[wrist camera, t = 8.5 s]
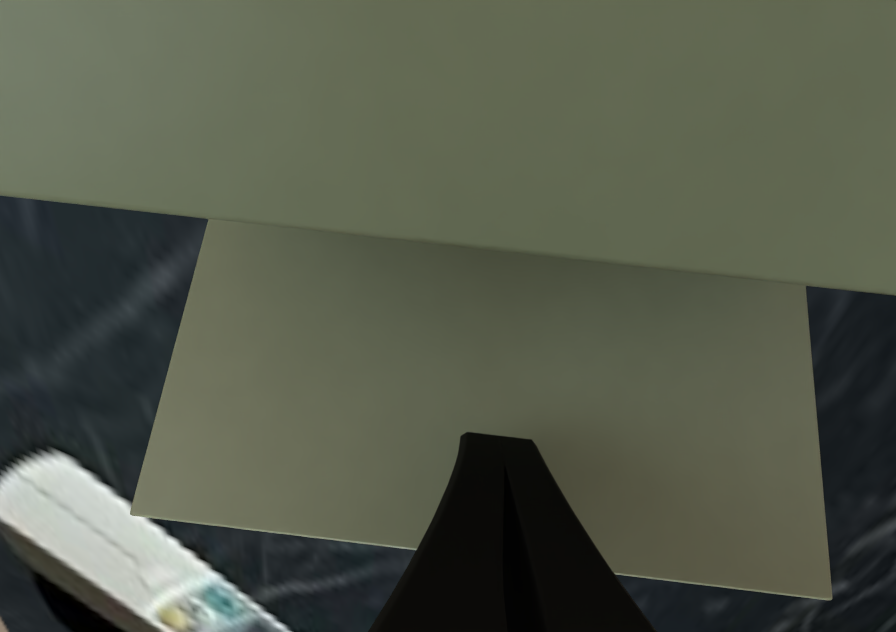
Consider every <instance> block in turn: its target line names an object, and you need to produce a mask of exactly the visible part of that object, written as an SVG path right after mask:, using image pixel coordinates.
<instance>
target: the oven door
mask: <svg viewBox="0 0 896 632" xmlns="http://www.w3.org/2000/svg"><path fill="white" fill-rule="evenodd" d="M466 432H473V433H482V434H490V435H499V436H507V437H516V438H524V439H532V441H533V442H534V443H535V444H536V446H537V448H538V450H539V452H540V453H541V455H542V457H543V459H544V461H545V463H546V465H547V467H548V468H549V470H550V472H551V474H552V476H553V477H554V479H555V481H556V483H557V484H558V486H559V488H560V489H561V491H562V493H563V495H564V496H565V498H566V500H567V501H568V503H569V505H570V506H571V508H572V510H573V511H574V513H575V515H576V516H577V518H578V519H579V521H580V522H581V524H582V526H583V527H584V529H585V530H586V532H587V533H588V535H589V537H590V538H591V540H592V541H593V543H594V544H595V546H596V547H597V549H598V550H599V552H600V553H601V555H602V556H603V558H604V559H605V561H606V562H607V564H608V565H609V567H610V568H611V570H612V571H613V572H614V574H617V575H625V576H633V577H642V578H650V579H658V580H666V581H675V582H683V583H691V584H699V585H707V586H716V587H724V588H732V589H740V590H749V591H757V592H765V593H773V594H781V595H790V596H798V597H806V598H814V599H823V600H832V588H831V577H830V565H829V554H828V542H827V530H826V519H825V507H824V495H823V484H822V472H821V460H820V449H819V437H818V425H817V414H816V402H815V390H814V379H813V367H812V355H811V344H810V332H809V320H808V309H807V297H806V286H805V285H796V284H787V283H778V282H769V281H760V280H751V279H743V278H734V277H725V276H716V275H707V274H698V273H689V272H680V271H671V270H662V269H653V268H644V267H635V266H626V265H617V264H609V263H600V262H591V261H582V260H573V259H564V258H555V257H546V256H537V255H528V254H519V253H510V252H501V251H492V250H483V249H475V248H466V247H457V246H448V245H439V244H430V243H421V242H412V241H403V240H394V239H385V238H376V237H367V236H358V235H349V234H341V233H332V232H323V231H314V230H305V229H296V228H287V227H278V226H269V225H260V224H251V223H242V222H233V221H224V220H216V219H209V220H208V223H207V227H206V231H205V235H204V238H203V242H202V246H201V250H200V253H199V257H198V261H197V264H196V268H195V272H194V276H193V279H192V283H191V287H190V291H189V294H188V298H187V302H186V306H185V309H184V313H183V317H182V321H181V324H180V328H179V332H178V335H177V339H176V343H175V347H174V350H173V354H172V358H171V362H170V365H169V369H168V373H167V377H166V380H165V384H164V388H163V392H162V395H161V399H160V403H159V406H158V410H157V414H156V418H155V421H154V425H153V429H152V433H151V436H150V440H149V444H148V448H147V451H146V455H145V459H144V463H143V466H142V470H141V474H140V477H139V481H138V485H137V489H136V492H135V496H134V500H133V504H132V507H131V511H130V514H131V515H133V516H140V517H148V518H157V519H165V520H173V521H181V522H189V523H198V524H206V525H214V526H222V527H231V528H239V529H247V530H255V531H263V532H272V533H280V534H288V535H296V536H305V537H313V538H321V539H329V540H337V541H346V542H354V543H362V544H370V545H379V546H387V547H395V548H403V549H411V550H417V548H418V546H419V544H420V542H421V540H422V539H423V537H424V535H425V533H426V531H427V529H428V527H429V525H430V523H431V521H432V519H433V517H434V515H435V512H436V510H437V508H438V506H439V503H440V501H441V499H442V496H443V494H444V492H445V490H446V487H447V485H448V482H449V480H450V477H451V474H452V471H453V468H454V465H455V462H456V459H457V455H458V450H459V443H460V436H461V435H463V434H464V433H466Z"/></svg>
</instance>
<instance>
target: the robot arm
mask: <svg viewBox="0 0 896 632" xmlns="http://www.w3.org/2000/svg"><path fill="white" fill-rule="evenodd" d="M368 632H657V631H656V630H655V629H654V627H653V626H652V625H651V623H650V622H649V621H648V619H647V618H646V617H645V615H644V614H643V613H642V611H641V610H640V609H639V607H638V606H637V605H636V603H635V602H634V601H633V599H632V598H631V596H630V595H629V594H628V592H627V591H626V589H625V588H624V587H623V585H622V584H621V582H620V581H619V579H618V578H617V577H616V575H615V574H614V572H613V571H612V570H611V568H610V567H609V565H608V564H607V562H606V561H605V559H604V558H603V556H602V555H601V553H600V552H599V550H598V549H597V547H596V546H595V544H594V543H593V541H592V540H591V538H590V537H589V535H588V533H587V532H586V530H585V529H584V527H583V526H582V524H581V522H580V521H579V519H578V518H577V516H576V515H575V513H574V511H573V510H572V508H571V506H570V505H569V503H568V501H567V500H566V498H565V496H564V495H563V493H562V491H561V489H560V488H559V486H558V484H557V483H556V481H555V479H554V477H553V476H552V474H551V472H550V470H549V468H548V467H547V465H546V463H545V461H544V459H543V457H542V455H541V453H540V452H539V450H538V448H537V446H536V444H535V443H534V442H533V441H532V439H524V438H516V437H507V436H499V435H490V434H482V433H473V432H466V433H464V434H463V435H461V436H460V443H459V450H458V455H457V459H456V462H455V465H454V468H453V471H452V474H451V477H450V480H449V482H448V485H447V487H446V490H445V492H444V494H443V496H442V499H441V501H440V503H439V506H438V508H437V510H436V512H435V515H434V517H433V519H432V521H431V523H430V525H429V527H428V529H427V531H426V533H425V535H424V537H423V539H422V540H421V542H420V544H419V546H418V548H417V550H416V552H415V554H414V556H413V558H412V559H411V561H410V563H409V565H408V567H407V569H406V570H405V572H404V574H403V576H402V577H401V579H400V581H399V582H398V584H397V586H396V588H395V589H394V591H393V593H392V594H391V596H390V598H389V599H388V601H387V603H386V604H385V606H384V607H383V609H382V611H381V612H380V614H379V615H378V617H377V618H376V620H375V622H374V623H373V625H372V626H371V628H370V630H369V631H368Z"/></svg>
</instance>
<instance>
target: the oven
mask: <svg viewBox="0 0 896 632" xmlns="http://www.w3.org/2000/svg"><path fill="white" fill-rule="evenodd" d="M0 195H1V196H10V197H19V198H28V199H37V200H46V201H55V202H64V203H73V204H82V205H90V206H99V207H108V208H117V209H126V210H135V211H144V212H153V213H162V214H171V215H180V216H189V217H198V218H207V219H216V220H224V221H233V222H242V223H251V224H260V225H269V226H278V227H287V228H296V229H305V230H314V231H323V232H332V233H341V234H349V235H358V236H367V237H376V238H385V239H394V240H403V241H412V242H421V243H430V244H439V245H448V246H457V247H466V248H475V249H483V250H492V251H501V252H510V253H519V254H528V255H537V256H546V257H555V258H564V259H573V260H582V261H591V262H600V263H609V264H617V265H626V266H635V267H644V268H653V269H662V270H671V271H680V272H689V273H698V274H707V275H716V276H725V277H734V278H743V279H751V280H760V281H769V282H778V283H787V284H796V285H805V286H814V287H823V288H832V289H841V290H850V291H859V292H868V293H877V294H885V295H894V296H896V0H0Z"/></svg>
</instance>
